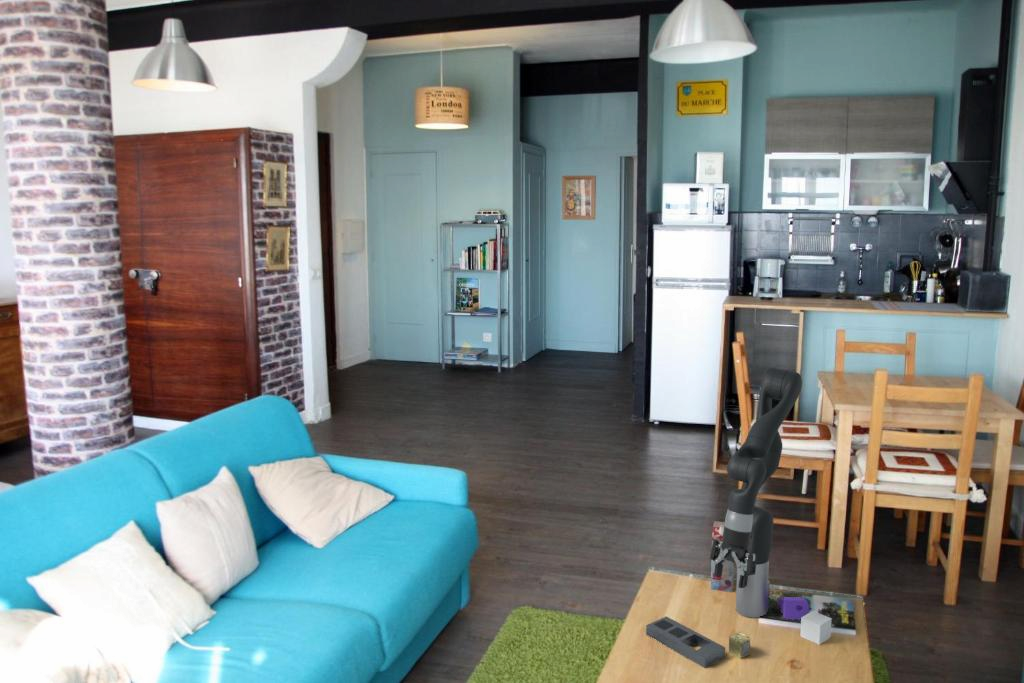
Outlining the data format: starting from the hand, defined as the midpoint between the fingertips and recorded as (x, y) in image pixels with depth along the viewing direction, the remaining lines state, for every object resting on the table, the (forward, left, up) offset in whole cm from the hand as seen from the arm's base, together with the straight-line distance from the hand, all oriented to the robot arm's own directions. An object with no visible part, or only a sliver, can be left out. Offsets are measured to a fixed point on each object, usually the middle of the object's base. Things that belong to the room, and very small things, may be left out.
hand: (729, 582), depth 241 cm
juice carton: (-24, -22, -17) cm, 37 cm away
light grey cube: (-20, +15, -18) cm, 31 cm away
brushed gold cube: (+4, +7, -17) cm, 19 cm away
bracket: (-28, +2, -18) cm, 33 cm away
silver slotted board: (+13, -5, -17) cm, 22 cm away
